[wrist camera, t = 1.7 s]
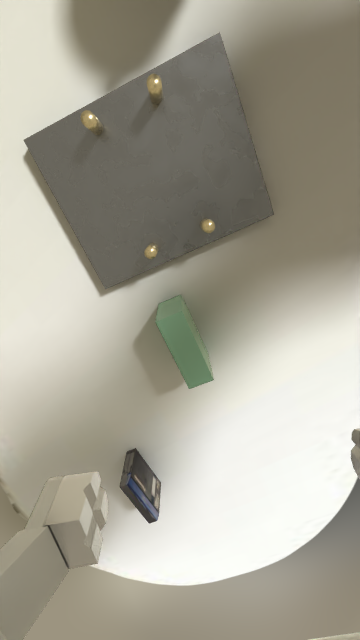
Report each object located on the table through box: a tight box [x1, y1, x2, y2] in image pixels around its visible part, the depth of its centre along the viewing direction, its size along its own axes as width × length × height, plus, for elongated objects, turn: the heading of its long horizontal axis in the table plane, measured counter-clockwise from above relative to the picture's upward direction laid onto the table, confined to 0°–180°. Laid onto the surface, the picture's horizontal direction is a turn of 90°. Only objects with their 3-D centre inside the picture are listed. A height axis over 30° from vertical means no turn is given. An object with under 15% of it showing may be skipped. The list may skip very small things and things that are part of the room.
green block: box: [155, 295, 214, 389], centre depth 34 cm, size 3×9×6 cm, turn 24°
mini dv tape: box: [120, 448, 161, 523], centre depth 42 cm, size 8×2×6 cm, turn 26°
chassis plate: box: [24, 33, 274, 289], centre depth 28 cm, size 20×16×4 cm
